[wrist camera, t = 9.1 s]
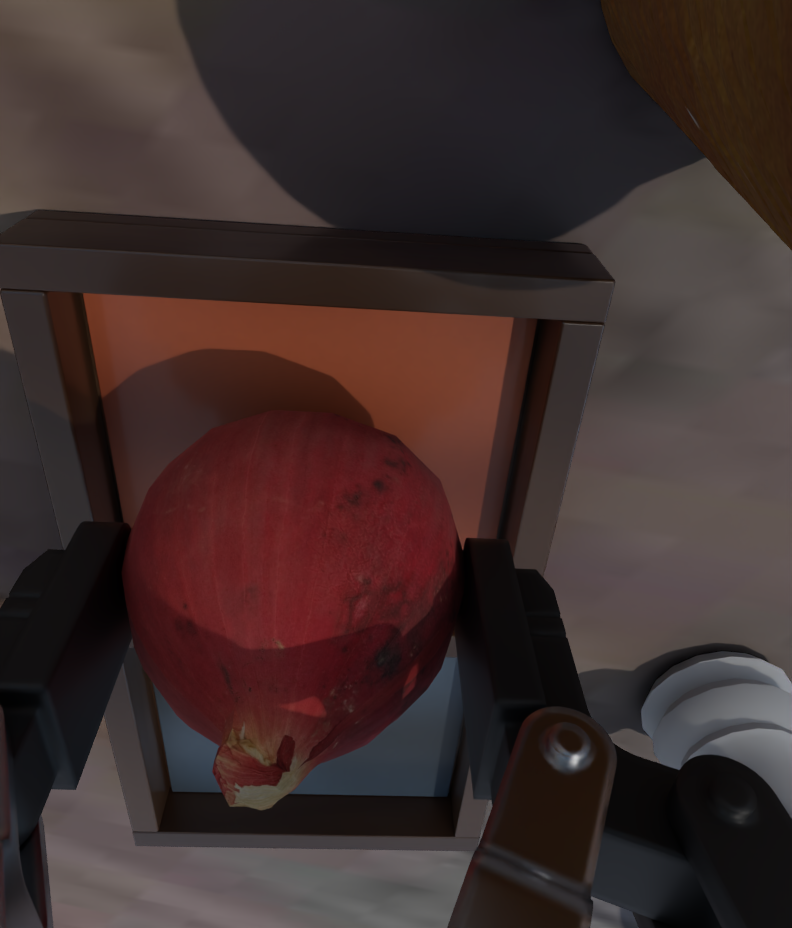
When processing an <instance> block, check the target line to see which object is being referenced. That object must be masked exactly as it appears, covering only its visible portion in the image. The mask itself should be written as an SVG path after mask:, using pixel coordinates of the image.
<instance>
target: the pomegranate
mask: <svg viewBox="0 0 792 928" xmlns="http://www.w3.org/2000/svg"><path fill="white" fill-rule="evenodd" d="M121 574H122V580H123V587H124V594H125V601H126V607H127V612H128V617H129V623H130V628H131V634H132V639H133V645H134V648H135V651H136V653H137V655H138V658H139V660H140V663H141V665H142V667H143V669H144V671H145V672H146V673H147V675H148V676H149V678H150V679H151V681H152V682H153V683H154V685H155V686H156V688H157V689H158V690H159V692H160V693H161V694H162V696H163V697H164V699H165V700H166V701H167V703H168V704H169V705H170V707H171V708H172V710H173V711H174V712H175V714H176V715H177V716H178V717H179V718H180V719H181V720H182V721H183V722H184V723H186V724H187V725H188V726H189V727H190V728H191V729H193V730H195V731H196V732H198V733H199V734H201V735H203V736H204V737H206V738H207V739H209V740H210V741H212V742H214V743H215V744H217V745H218V746H220V747H219V748H218V750H217V754H216V757H215V760H214V764H213V770H212V772H213V774H214V776H215V778H216V781H217V783H218V785H219V787H220V789H221V791H222V793H223V795H224V797H225V799H226V801H227V803H228V804H229V806H230V807H242V806H247V807H250V808H254V809H258V810H265V809H268V808H271V807H272V806H273V805H274V804H275V803H276V802H277V801H278V800H279V799H281V798H283V797H284V796H286V795H287V794H289V793H290V792H292V791H293V790H295V789H296V788H297V786H298V785H299V784H300V783H301V782H302V781H303V779H304V778H305V777H306V776H307V775H308V774H309V773H310V771H311V770H313V769H314V768H315V767H316V766H317V765H319V764H320V763H324V762H327V761H330V760H332V759H335V758H337V757H340V756H342V755H345V754H347V753H349V752H352V751H354V750H356V749H358V748H361V747H363V746H365V745H367V744H368V743H369V742H371V741H372V740H373V739H374V738H375V737H376V736H377V735H379V734H380V733H381V732H382V731H383V730H384V729H385V728H386V727H388V726H389V725H390V724H391V723H393V722H394V721H396V720H397V719H398V718H399V717H400V716H401V715H402V714H403V713H404V712H405V711H406V710H407V709H408V708H409V707H410V706H411V705H412V704H413V703H414V702H415V701H416V700H417V699H418V698H419V697H420V696H421V695H422V694H423V693H424V692H425V691H426V690H427V689H428V688H429V686H430V685H431V683H432V682H433V680H434V679H435V677H436V676H437V674H438V673H439V671H440V670H441V668H442V665H443V662H444V659H445V656H446V653H447V650H448V647H449V644H450V641H451V637H452V634H453V630H454V626H455V623H456V619H457V616H458V612H459V609H460V605H461V601H462V598H463V594H464V582H465V573H464V553H463V549H462V546H461V542H460V539H459V536H458V532H457V529H456V525H455V522H454V519H453V515H452V512H451V508H450V505H449V502H448V500H447V497H446V494H445V491H444V489H443V486H442V483H441V481H440V479H439V478H438V477H437V476H436V475H435V474H434V473H433V472H432V471H431V470H430V469H429V468H428V467H427V466H426V465H425V464H424V463H423V462H422V461H421V460H420V459H419V458H418V457H417V456H416V455H415V454H414V453H413V452H412V451H411V450H410V449H409V448H408V447H407V446H406V445H405V444H404V443H403V442H402V441H401V440H400V439H399V438H398V437H397V436H395V435H392V434H390V433H387V432H384V431H382V430H379V429H376V428H373V427H371V426H368V425H365V424H362V423H359V422H357V421H354V420H351V419H348V418H346V417H343V416H340V415H338V414H335V413H324V412H304V411H283V410H271V411H267V412H264V413H261V414H257V415H254V416H251V417H248V418H244V419H241V420H238V421H234V422H231V423H228V424H224V425H221V426H218V427H214V428H212V429H210V430H209V431H208V432H207V433H206V434H204V435H203V436H202V437H201V438H199V439H198V440H197V441H196V442H195V443H193V444H192V445H191V446H190V447H188V448H187V449H186V450H185V451H184V452H182V453H181V454H180V455H179V456H177V457H176V458H175V459H174V460H173V461H171V462H170V463H169V464H168V465H167V466H166V468H165V469H164V470H163V471H162V473H161V474H160V475H159V476H158V478H157V479H156V480H155V481H154V483H153V484H152V485H151V487H150V488H149V489H148V492H147V494H146V496H145V499H144V501H143V504H142V506H141V508H140V511H139V513H138V515H137V518H136V520H135V523H134V525H133V527H132V530H131V532H130V535H129V537H128V540H127V545H126V550H125V555H124V561H123V566H122V572H121Z"/></svg>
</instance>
